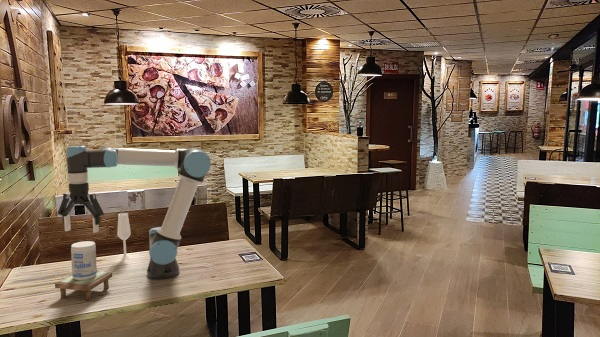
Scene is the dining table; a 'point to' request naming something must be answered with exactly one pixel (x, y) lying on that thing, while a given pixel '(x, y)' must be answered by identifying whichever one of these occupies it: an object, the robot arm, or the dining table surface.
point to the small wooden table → (83, 284)
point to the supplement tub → (83, 260)
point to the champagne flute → (123, 232)
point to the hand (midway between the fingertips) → (82, 231)
